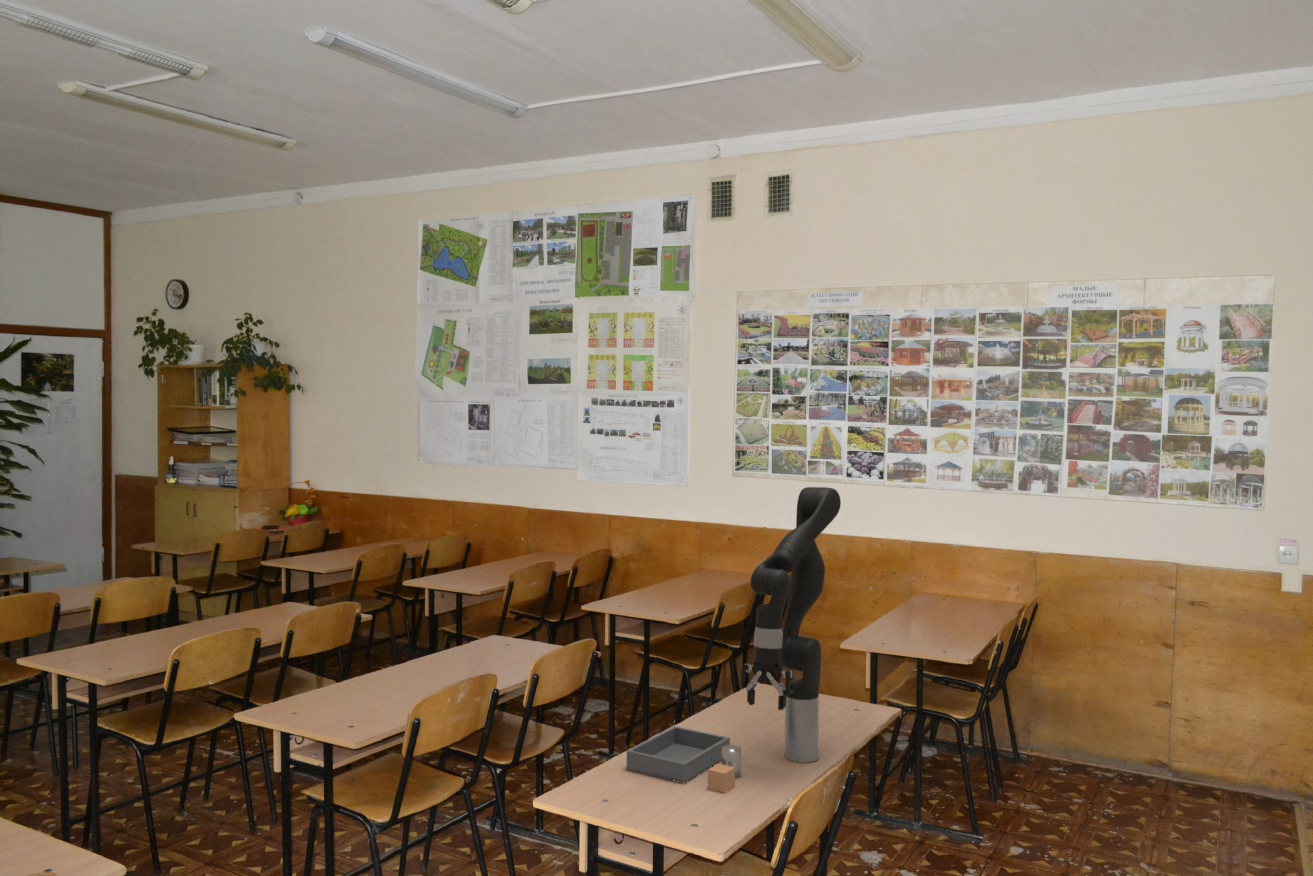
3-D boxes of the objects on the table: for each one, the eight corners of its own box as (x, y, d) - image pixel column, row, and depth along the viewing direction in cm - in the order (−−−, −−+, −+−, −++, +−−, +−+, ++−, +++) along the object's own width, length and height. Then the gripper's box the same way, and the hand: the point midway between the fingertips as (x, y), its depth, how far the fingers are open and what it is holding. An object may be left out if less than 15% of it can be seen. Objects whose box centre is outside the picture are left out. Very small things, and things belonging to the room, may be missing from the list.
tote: (674, 743, 271) (674, 726, 271) (729, 755, 261) (729, 737, 261) (626, 769, 251) (626, 751, 251) (684, 784, 241) (684, 764, 241)
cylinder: (727, 770, 251) (727, 743, 251) (744, 773, 248) (744, 747, 248) (718, 776, 247) (718, 749, 246) (735, 780, 244) (735, 753, 244)
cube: (717, 782, 242) (717, 763, 242) (734, 787, 239) (734, 767, 239) (707, 789, 238) (707, 769, 238) (725, 793, 235) (725, 773, 235)
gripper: (799, 646, 248) (797, 709, 247) (750, 639, 256) (748, 700, 255) (787, 650, 242) (785, 714, 241) (737, 643, 249) (735, 705, 249)
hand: (766, 707), depth 248 cm, fingers open, 8 cm apart
